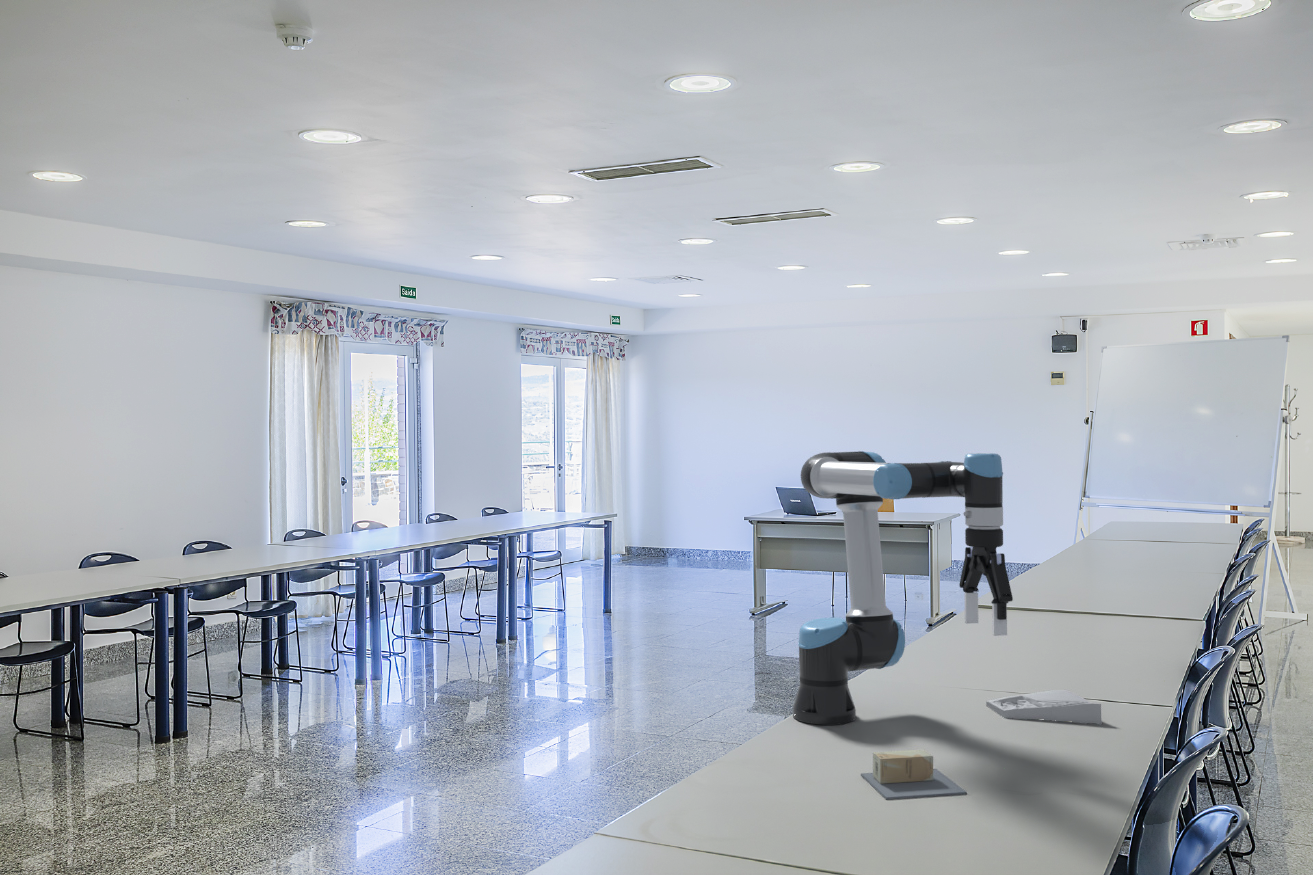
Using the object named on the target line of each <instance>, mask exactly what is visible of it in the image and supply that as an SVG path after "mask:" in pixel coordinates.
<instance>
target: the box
mask: <svg viewBox="0 0 1313 875" xmlns="http://www.w3.org/2000/svg"><path fill="white" fill-rule="evenodd" d="M933 769H934V755H932V754H931V753H930V752H929V751H927V750H926V749H924V748H923V749H911V750H910V749H909V750H894V751H876V752H872V773H873V777H874V778H875V779H876V780H877V781H878V782H879V783H880V784H887V783H901V782H917V781H933Z"/></svg>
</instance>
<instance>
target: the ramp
mask: <svg viewBox="0 0 1313 875" xmlns="http://www.w3.org/2000/svg"><path fill="white" fill-rule="evenodd" d="M985 702H986V703H985V706H986V707H987V708H989V709H990V710H991V711H993V712H995V713H996V714H997V715H999V716H1000V717H1001V716H1002V718H1003V717H1004V718H1003V719H1012V718H1013V719H1018V720H1027V719H1044V720H1052V721H1051V722H1057V721H1072V722H1080V723H1079V724H1087V723H1097V724H1096V725H1102V723H1103V722H1102V704H1101V703H1098V702H1097V703H1096V702H1091V701H1090V700H1088V699H1086V698H1084V697H1082V696H1080V695H1079V694H1077V693H1075V692H1072V691H1070V690H1067V689H1052V690H1044V691H1037V692H1031V693H1025V694H1017V695H1010V696H1004V697H1000V698H999V697H998V698H994V699H989V700H986V701H985ZM1055 720H1056V721H1055ZM1072 722H1071V723H1072Z"/></svg>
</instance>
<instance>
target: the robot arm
mask: <svg viewBox="0 0 1313 875" xmlns="http://www.w3.org/2000/svg"><path fill="white" fill-rule="evenodd" d="M963 461H964V462H961V461H960V462H959V461H958V462H957V461H948V460H947V461H938V462H937V461H936V462H904V463H903V462H886V460H885V458H883V457H882V456H881V455H880V454H878V453H876V452H874V451H873V452H872V451H860V450H858V451H842V452H841V451H840V452H839V451H838V452H836V451H835V452H834V451H833V452H830V451H829V452H819V453H816V454H814V455H812V456H810V457H809V458H808V459H807V460H806V461H805V462H804V464H803V465H802V468H801V471H800V481H801V482H800V483H801V484H802V486H803V488H804V490H805V491H806V492H808V494H809V495H811V496H813V497H816V498H818V499H819V498H820V499H831V500H832V499H835V503H836V508H838V510H840V511H841V512H842V515H843V527H844V538H845V550H846V564H847V565H846V566H847V574H848V575H847V577H848V588H849V589H848V590H849V599H850V600H849V602H850V608H849V610H848V611H847V612H846V614H845V618H841V617H835V616H834V617H821V618H816V619H811V620H809V621H806V622H805V623H803V624H802V625H801V626H800V628H799V633H798V642H797V644H798V656H799V657H798V658H799V659H798V660H799V661H798V662H799V663H798V664H799V670H798V671H799V686H798V689H797V691H796V692H797V693H796V696H795V697H794V702H793V704H792V717H793V718H794V719H795V720H796V721H799V722H802V723H805V724H811V725H820V726H822V725H825V726H827V725H828V726H833V725H843V724H847V723H851V722H853V721H854V720H856V717H857V716H856V712H857V709H856V706H855V702H854V701H853V700H854V699H853V697H852V694H851V691H850V688H849V680H848V679H849V677H848V676H849V672H854V671H855V672H857V671H864V670H865V671H866V670H873V669H878V670H882V669H885V668H888V667H893V666H895V665H896V664H898V663H899V662H900V661H901V660H900V659H901V658H902V657H903V655H904V652H905V647H906V635H905V631H904V628H902V627H903V626H902V624H901V623H900V622H899V621H898V620H896V619H894V615H893V614H894V613H893V611H891V610H890V609H889V608H888V607H887V605H886V603H887V602H886V592H885V581H884V570H883V556H882V544H881V536H880V524H879V522H880V521H879V512H878V510H879V509H880V508H881V506H883V504H884V499H886V500H900V499H917V498H923V499H924V498H944V497H945V498H948V497H949V498H950V497H951V498H952V497H953V498H955V497H956V498H964V507H965V509H964V511H963V516H964V518H965V519H964V520H965V521H964V522H965V525H966V526H968V527H966V528H965V530H964V531H965V532H964V534H965V537H964V538H965V541H964V542H965V545H966V546H968V547H965V549H964V550H965V551H964V560H963V566H962V569H961V574H960V580H959V588H961V589H962V590H963V593H964V624H967V625H968V624H979V593H978V592H979V588H978V586H979V584H980V581H981V578H982V577H983V576H984V577H985V578H986V580H987V582H988V583H987V584H988V586H989V589H990V592H991V595H992V598H993V599H992V600H991V605H992V606H991V607H992V610H991V611H992V614H991V615H992V636H995V637H999V636H1008V608H1007V607H1008V605H1007V604H1009V602H1013V601H1014V599H1013V593H1012V589H1011V585H1010V580H1009V576H1008V571H1007V567H1006V558H1005V557H1006V556H1005V553H997V548H1000V547H1003V545H1004V530H1003V528H1001V527H1003V525H1004V507H1003V503H1004V502H1003V475H1004V472H1003V463H1002V457H1001V455H999V454H998V453H989V452H988V453H980V452H979V453H967V454H965V456H964V460H963ZM794 714H796V715H795V716H794Z"/></svg>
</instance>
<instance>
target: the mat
mask: <svg viewBox="0 0 1313 875" xmlns="http://www.w3.org/2000/svg"><path fill="white" fill-rule="evenodd" d="M860 776H861V777H862V778H863V780H865V781H866V782H867V783H868V784H870V786H871V787H872V788H873V789H874V790H876V791H877V793H879V795H881V796H882V797H883V798H884V799H885V800H896V799H897V800H898V799H912V798H913V799H914V798H926V797H927V798H929V797H940V796H941V797H942V796H943V797H944V796H957V795H967V794H968V792H967V790H965V789H964V788H962V787H961V786H960V785H958V784H957V783H956V782H955V781H954V780H952V779H950V778H949V777H948V776H946V775H945V774H944V773H943V772H941V771H940V770H939V769H937V768H933V781H917V782H901V783H887V784H880V783H879V782H878V781H877V780H876V779H875V778H874V777H873V772H862V773H860Z"/></svg>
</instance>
